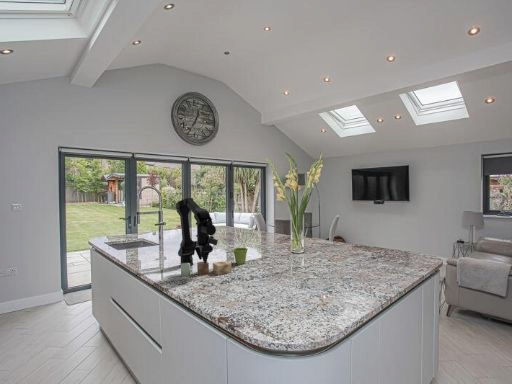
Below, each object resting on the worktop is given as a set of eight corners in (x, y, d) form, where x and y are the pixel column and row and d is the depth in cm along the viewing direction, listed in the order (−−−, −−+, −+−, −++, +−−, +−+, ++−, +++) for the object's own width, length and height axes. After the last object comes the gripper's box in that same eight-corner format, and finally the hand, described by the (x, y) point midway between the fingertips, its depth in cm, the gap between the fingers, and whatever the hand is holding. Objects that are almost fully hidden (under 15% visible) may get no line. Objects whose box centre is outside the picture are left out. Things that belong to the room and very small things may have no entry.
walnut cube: (200, 275, 160) (199, 264, 160) (197, 272, 165) (197, 262, 165) (208, 273, 163) (208, 263, 162) (206, 271, 167) (206, 261, 167)
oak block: (217, 275, 161) (217, 266, 161) (213, 271, 168) (212, 262, 168) (231, 272, 164) (231, 264, 164) (226, 269, 171) (226, 260, 171)
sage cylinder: (179, 275, 160) (178, 264, 160) (184, 273, 165) (184, 262, 165) (187, 276, 158) (187, 265, 158) (192, 273, 163) (191, 263, 163)
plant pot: (246, 265, 179) (245, 251, 179) (231, 264, 181) (230, 250, 181) (249, 261, 188) (249, 247, 188) (235, 260, 190) (235, 247, 190)
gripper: (221, 234, 159) (222, 263, 159) (211, 230, 175) (211, 256, 176) (201, 236, 154) (202, 266, 154) (192, 231, 170) (193, 258, 171)
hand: (202, 261), depth 164 cm, fingers open, 9 cm apart
